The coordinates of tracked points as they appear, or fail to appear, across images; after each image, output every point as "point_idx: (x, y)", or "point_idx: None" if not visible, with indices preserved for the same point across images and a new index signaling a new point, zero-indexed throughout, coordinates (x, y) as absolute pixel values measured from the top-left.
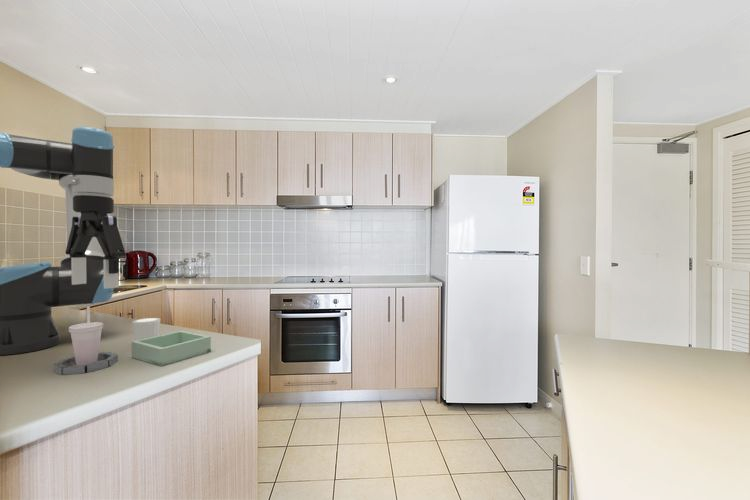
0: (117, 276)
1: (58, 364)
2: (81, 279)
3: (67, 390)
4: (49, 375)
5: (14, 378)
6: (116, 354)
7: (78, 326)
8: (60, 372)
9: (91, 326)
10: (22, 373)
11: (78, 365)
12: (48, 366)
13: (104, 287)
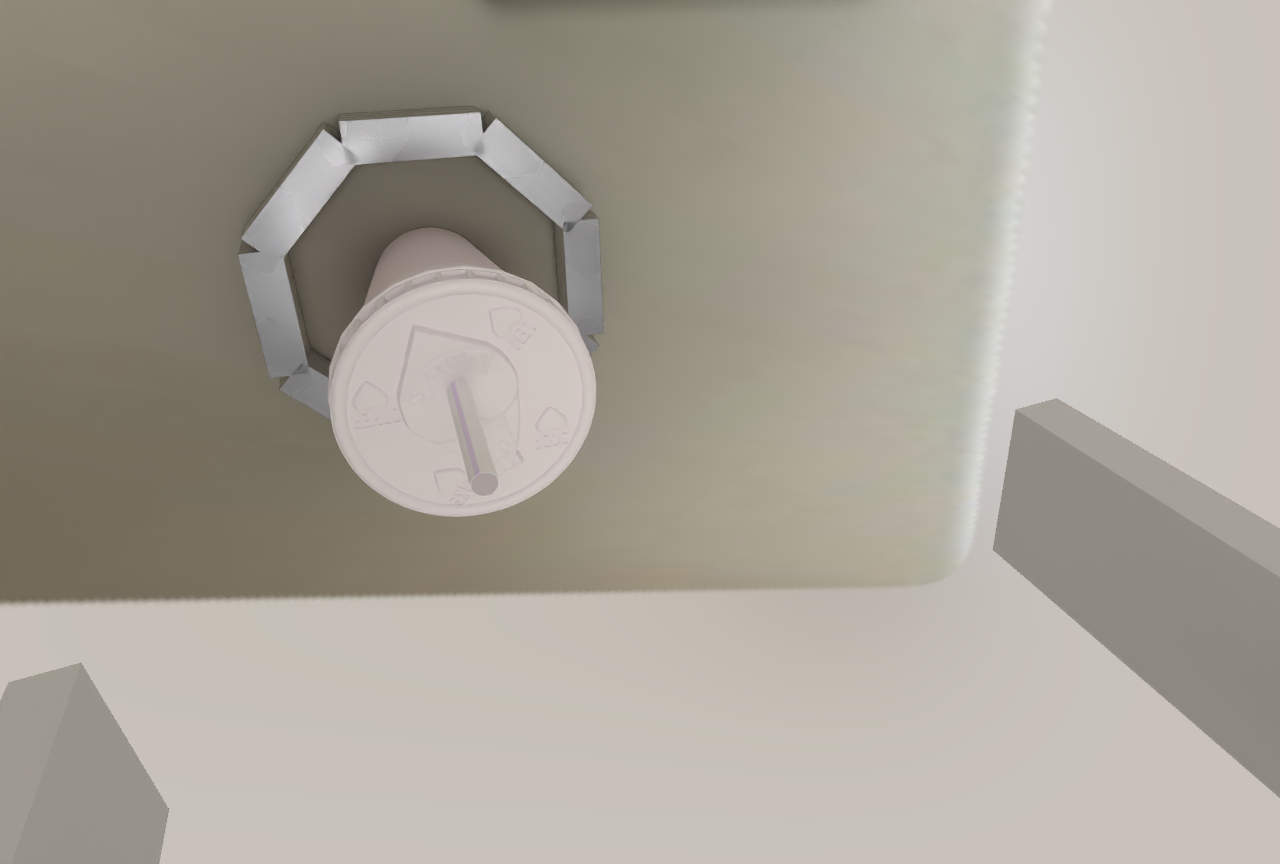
0: (1197, 498)
1: None
2: (93, 797)
3: (782, 433)
4: None
5: (365, 572)
6: (478, 117)
7: (508, 468)
8: None
9: (566, 388)
10: (286, 545)
11: None
12: (230, 438)
13: (1015, 552)
